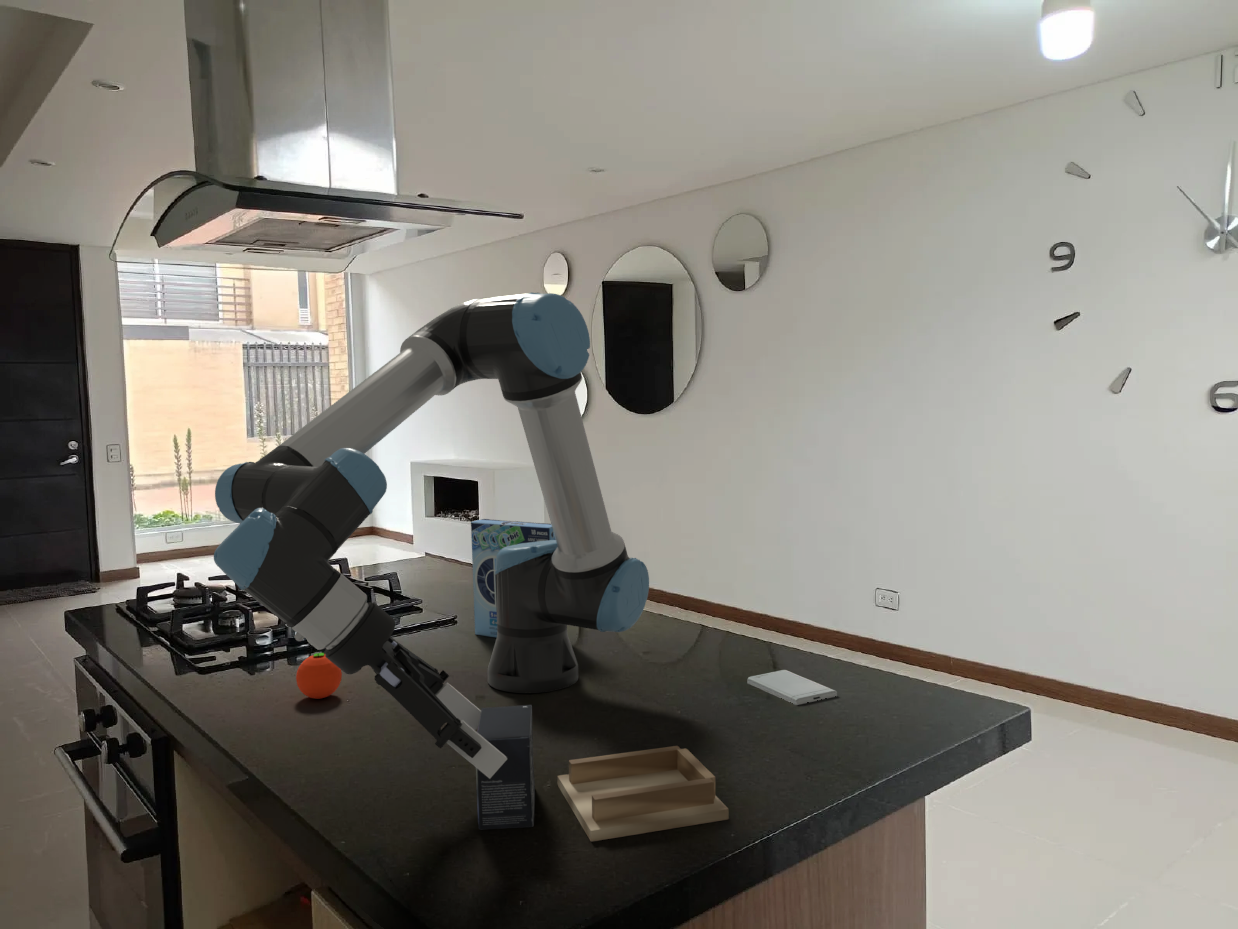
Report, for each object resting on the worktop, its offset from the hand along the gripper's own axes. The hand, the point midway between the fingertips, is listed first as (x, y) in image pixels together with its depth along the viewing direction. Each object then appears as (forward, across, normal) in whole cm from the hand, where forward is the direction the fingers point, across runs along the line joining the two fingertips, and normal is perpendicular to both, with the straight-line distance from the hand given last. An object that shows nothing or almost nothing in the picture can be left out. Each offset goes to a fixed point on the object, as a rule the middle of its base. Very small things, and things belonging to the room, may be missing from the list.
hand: (488, 745), depth 105 cm
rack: (+18, +3, +6) cm, 19 cm away
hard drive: (+44, -28, +32) cm, 61 cm away
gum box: (+18, -74, +7) cm, 76 cm away
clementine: (-8, -50, -19) cm, 54 cm away
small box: (+7, -1, -4) cm, 8 cm away
